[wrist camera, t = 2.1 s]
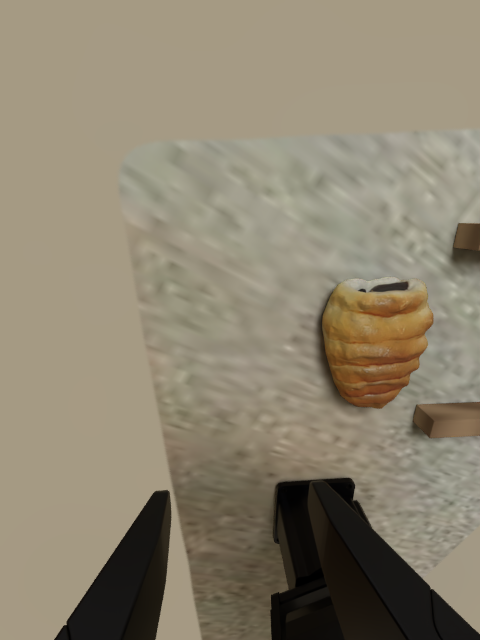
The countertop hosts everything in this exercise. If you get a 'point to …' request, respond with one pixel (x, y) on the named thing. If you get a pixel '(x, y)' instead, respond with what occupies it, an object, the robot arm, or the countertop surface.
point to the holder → (453, 415)
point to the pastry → (375, 337)
